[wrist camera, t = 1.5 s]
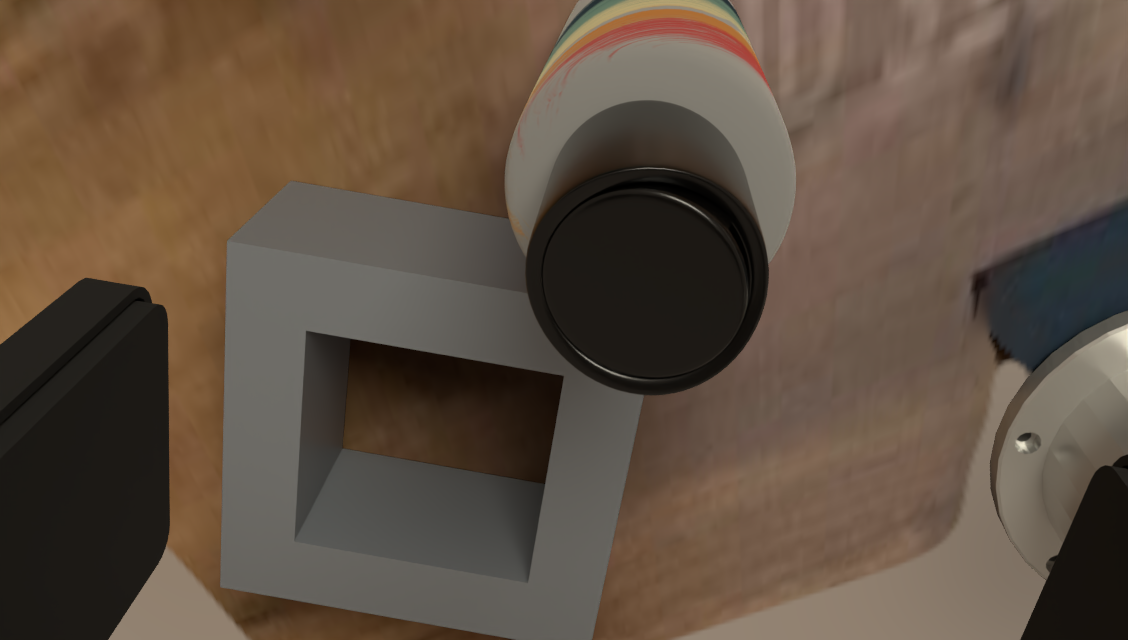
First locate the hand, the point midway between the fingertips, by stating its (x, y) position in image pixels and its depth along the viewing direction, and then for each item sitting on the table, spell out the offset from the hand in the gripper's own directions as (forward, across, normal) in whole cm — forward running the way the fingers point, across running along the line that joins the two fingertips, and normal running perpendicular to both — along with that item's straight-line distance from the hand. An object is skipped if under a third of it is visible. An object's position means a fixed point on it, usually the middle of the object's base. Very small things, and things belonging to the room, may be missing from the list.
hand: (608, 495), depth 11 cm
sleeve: (+26, +4, +13) cm, 29 cm away
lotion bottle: (+26, -1, 0) cm, 26 cm away
